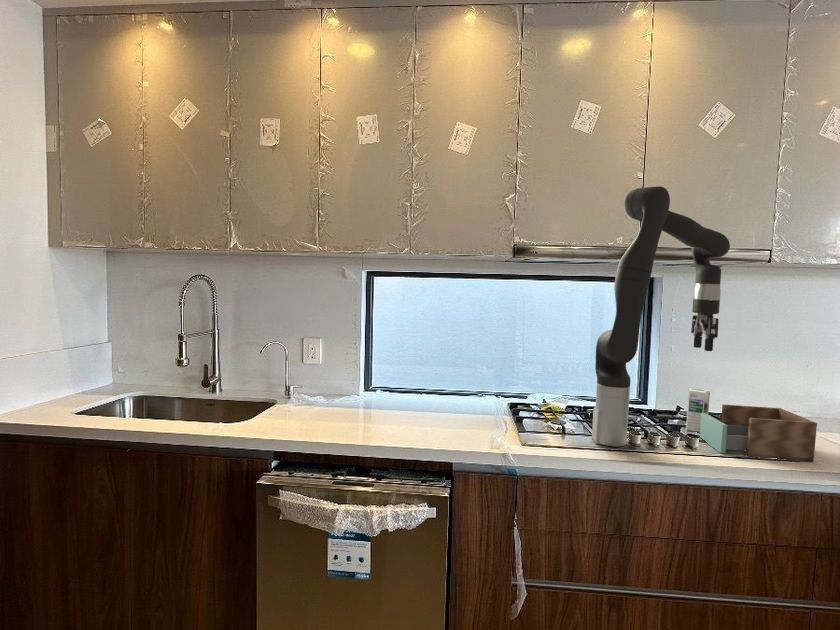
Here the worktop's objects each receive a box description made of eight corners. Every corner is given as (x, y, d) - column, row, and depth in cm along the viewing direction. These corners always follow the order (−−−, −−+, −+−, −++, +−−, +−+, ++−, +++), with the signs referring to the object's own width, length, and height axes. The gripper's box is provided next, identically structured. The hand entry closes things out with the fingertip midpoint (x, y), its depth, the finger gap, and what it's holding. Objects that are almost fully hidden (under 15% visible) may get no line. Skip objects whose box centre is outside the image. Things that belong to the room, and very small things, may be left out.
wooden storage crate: (748, 457, 149) (751, 418, 149) (719, 439, 167) (722, 404, 167) (813, 462, 148) (817, 423, 147) (777, 443, 165) (780, 408, 165)
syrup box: (685, 434, 171) (688, 389, 170) (687, 430, 176) (690, 387, 175) (705, 438, 168) (708, 392, 167) (707, 434, 173) (710, 389, 172)
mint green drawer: (720, 452, 152) (722, 425, 151) (699, 437, 166) (701, 412, 166) (772, 456, 150) (774, 428, 150) (746, 441, 165) (748, 415, 164)
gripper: (685, 297, 177) (682, 346, 178) (703, 298, 162) (699, 351, 163) (709, 298, 176) (705, 347, 177) (729, 299, 162) (725, 352, 163)
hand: (702, 349), depth 170 cm, fingers open, 8 cm apart
